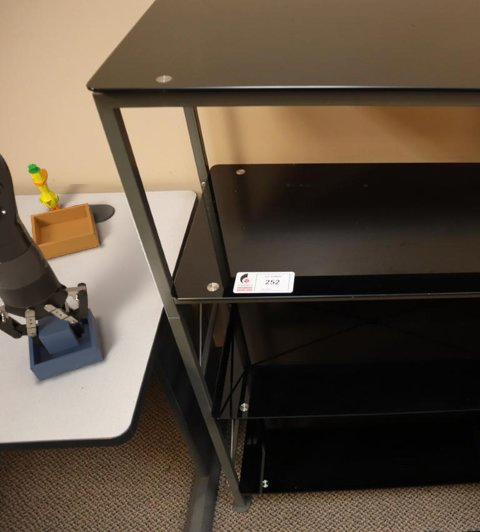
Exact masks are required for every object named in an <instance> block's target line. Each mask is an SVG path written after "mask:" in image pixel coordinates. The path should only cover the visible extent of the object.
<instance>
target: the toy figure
mask: <svg viewBox="0 0 480 532" xmlns="http://www.w3.org/2000/svg"><path fill="white" fill-rule="evenodd" d="M27 168H28V170H27V171H28V173H29V175H30V176H31V180H32V182H33V183H34V185H35V186H36V187H37V188H38V190H39V191H40V192H41V193H40V195H39V197H38V201H39V203H41V204H43V205H44V206H45V207H48V208H50V211H54V210H58V209H62V207H61V205H60V204H58V203H59V201H60V196H59V195H58V194H56V193H55V192H54V191H52V190H51V189H50V188H49V185H48V182H47V181H48V176H49V173H48V170H47V169H46V168H41V167H40V166H38V165H37V164H36V163H31V164H29V165H27Z"/></svg>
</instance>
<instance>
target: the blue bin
mask: <svg viewBox="0 0 480 532" xmlns="http://www.w3.org/2000/svg"><path fill="white" fill-rule="evenodd" d="M80 320H81V322H82V323H83V325H84V333H83V334H82V337H80V338H79V345H78V346H75V347H71V348H68V349H65V350H62V351H59V352H56V353H52V354H50V353H49V352H48V350H47V349H46V348H45V349H44V348H43V347H42V346H41V347H38V346H37V345H36V344H35V342H34V341H33V340H32V338H31V337H29V336H27V341H28V355H29V356H28V357H29V369H30V371H31V372H32V373H33V375H34V376H35V377H36V379H37V380H38V381H39V382H42V381H44V380H47V379H50V378H54V377H56V376H59V375H63V374H65V373H68V372H71V371H74V370H78V369H80V368H84V367H87V366H90V365H92V364H95V363H99V362H102V361H104V354H103V349H102V344H101V343H102V342H101V338H100V332H99V327H98V322H97V319H96V317H95V315H94V313H93V311H92V309H91V308H90V307H88V317H87V318H85V319H80ZM36 325H37V326H38V322H36Z"/></svg>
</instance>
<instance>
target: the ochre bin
mask: <svg viewBox="0 0 480 532" xmlns="http://www.w3.org/2000/svg"><path fill="white" fill-rule="evenodd" d="M30 226H31V238H32V239H33V240H34V241H35V243H36V244H37V245H38V246H39V248H40V249H41V251H42V253H43V254H44V256H45V258H46V260H49V259H53V258H57V257H61V256H65V255H69V254H73V253H76V252H77V253H78V252H82V251H84V250H85V251H86V250H89V249H93V248H98V247H101V246H100V239H99V235H98V230H97V225H96V220H95V215H94V213H93V211H92V209H91V207H90V205H89V202H86V203H81V204H77V205H73V206H68V207H63V208H61V209H58V210H54V211H51V210H49V211H46V212H45V211H44V212H41V213H36V214H31V215H30Z"/></svg>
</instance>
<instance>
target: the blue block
mask: <svg viewBox="0 0 480 532" xmlns="http://www.w3.org/2000/svg"><path fill="white" fill-rule="evenodd" d="M37 323H38V332H39V339H40V340H41V342H42V343H43V345H44V346H45V348H46V349H47V350H48V352H49V353H50V354H52V353H56V352H59V351H62V350H65V349H68V348H71V347H75V346H78V345H79V338H77V336H76V335H75V333H74V331H73V330H72V328H71V327H70V324H69V323H68V322H66V321H65V320H64V319H63V320H61V319H59V318H58V317H57V316H55V315H53V316H47V317H44V318H42V319H39V320H37Z"/></svg>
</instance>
